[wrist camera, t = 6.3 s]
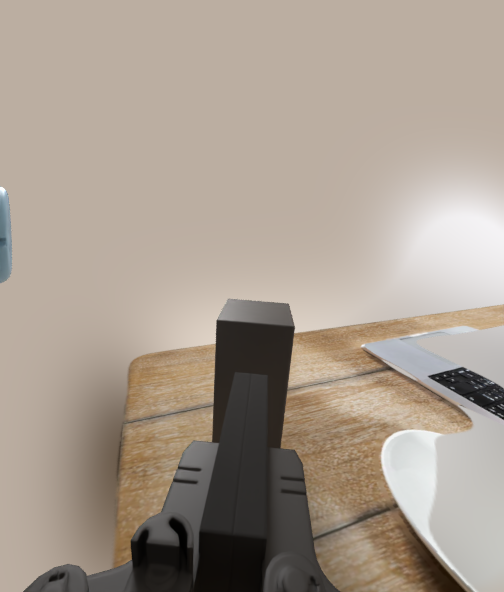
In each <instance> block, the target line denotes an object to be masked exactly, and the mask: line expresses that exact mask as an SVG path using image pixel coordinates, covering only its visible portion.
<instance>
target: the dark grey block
mask: <svg viewBox="0 0 504 592" xmlns="http://www.w3.org/2000/svg"><path fill="white" fill-rule="evenodd" d="M216 327H217V328H216V352H215V380H214V407H213V435H212V442H213V443H219V440H220V436H221V432H222V427H223V423H224V418H225V414H226V409H227V405H228V401H229V396H230V392H231V387H232V383H233V378H234V374H235V372H239V373H250V374H260V375H268V423H267V447H270V448H280V447H281V438H282V430H283V422H284V413H285V405H286V397H287V388H288V380H289V372H290V363H291V355H292V347H293V338H294V330H295V326H294V322H293V318H292V315H291V311H290V306H289V304H286V303H274V302H261V301H249V300H237V299H228V300H227V302H226V304H225V306H224V308H223V310H222V311H221V313H220V315H219V317H218V319H217V325H216Z"/></svg>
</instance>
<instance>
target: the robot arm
mask: <svg viewBox="0 0 504 592" xmlns="http://www.w3.org/2000/svg"><path fill="white" fill-rule="evenodd" d="M11 269H12V240H11V221H10V207H9V198H8V194H7V191H6V190H5V189H4V188H2V187H1V186H0V283H2V282H4V281H6V280H7V279H8V278H9V277H10V274H11ZM267 423H268V375H260V374H250V373H239V372H235V374H234V378H233V383H232V387H231V392H230V396H229V401H228V405H227V409H226V414H225V418H224V423H223V427H222V432H221V436H220V440H219V443H213V442H203V441H193V442H192V443H191V444H190V445H189V446H188V447H187V449H186V450H185V451H184V452H183V454H182V457H181V460H180V462H179V465H178V469H177V470H176V473H175V476H174V479H173V482H172V484H171V487H170V489H169V492H168V495H167V497H166V500H165V503H164V506H163V508H162V511H161V513H159V514H157V515H155V516H152V517H150V518H149V519H148V520H146V521H145V522H144V523H143V524H142V525H141V526H140V527H139V528H138V529H137V531H136V533H135V534H134V536H133V538H132V539H131V552H132V560H130V561H129V562H127V563H126V564H124V565H122V566H119V567H117V568H114V569H110V570H107V571H103V572H100V573H96V574H92V575H89V576H86V573H85V572H84V571H83V570H82V569H81V568H80V567H79V566H75V565H70V564H66V565H63V566H58V567H55V568H53V569H51V570H50V571H48V572H46V573H44V574H43V575H41V576H39V577H38V578H37V579H36V580H35V581H34V582H33V583H32V584H31V585H30V586H29V587H28V588H26V589H25V590H24V591H23V592H340V591H339V590H338V589H336V588H335V587H334V586H333V585H332V584H331V583H330V581H329V580H328V579H327V578H326V576H325V575H324V573H323V572H322V570H321V568H320V566H319V563H318V561H317V558H316V554H315V550H314V543H313V536H312V529H311V521H310V514H309V507H308V500H307V496H306V486H305V478H304V471H303V464H302V462H301V460H300V459H299V457H298V455H297V453H296V452H295V450H290V449H280V448H270V447H267Z"/></svg>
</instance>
